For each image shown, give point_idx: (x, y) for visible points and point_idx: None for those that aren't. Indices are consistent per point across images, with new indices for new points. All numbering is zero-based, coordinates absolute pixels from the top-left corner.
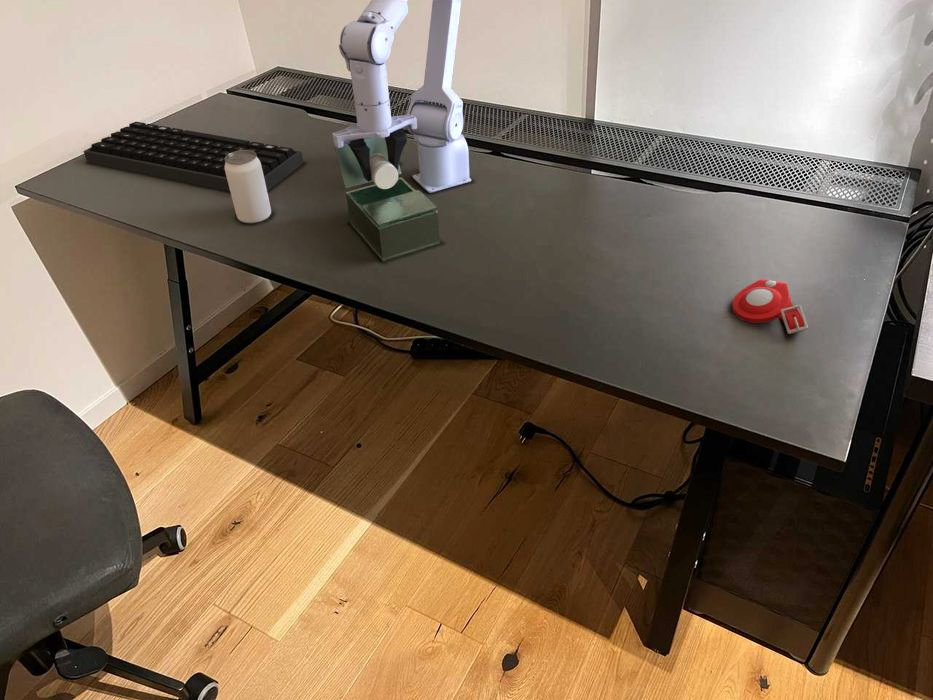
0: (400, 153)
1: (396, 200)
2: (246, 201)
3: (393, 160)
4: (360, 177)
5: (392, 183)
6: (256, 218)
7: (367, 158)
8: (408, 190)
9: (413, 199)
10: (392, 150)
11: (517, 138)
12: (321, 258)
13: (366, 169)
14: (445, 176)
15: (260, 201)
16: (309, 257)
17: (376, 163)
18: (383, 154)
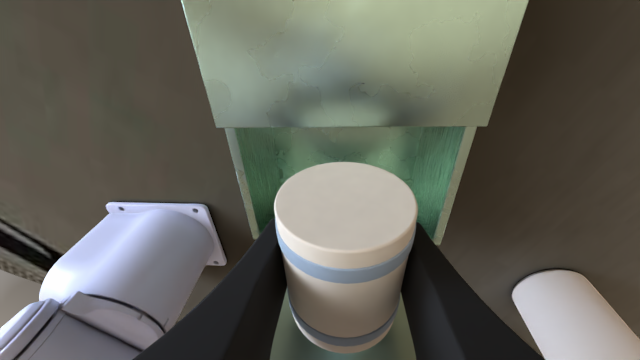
0: (206, 304)
1: (333, 90)
2: (619, 320)
3: (267, 279)
4: None
5: (318, 171)
6: (573, 277)
7: (478, 348)
8: (252, 177)
9: (258, 54)
10: (248, 344)
11: (22, 277)
12: (596, 61)
13: (453, 273)
14: (150, 224)
15: (579, 310)
16: (614, 86)
17: (373, 292)
18: (281, 330)
